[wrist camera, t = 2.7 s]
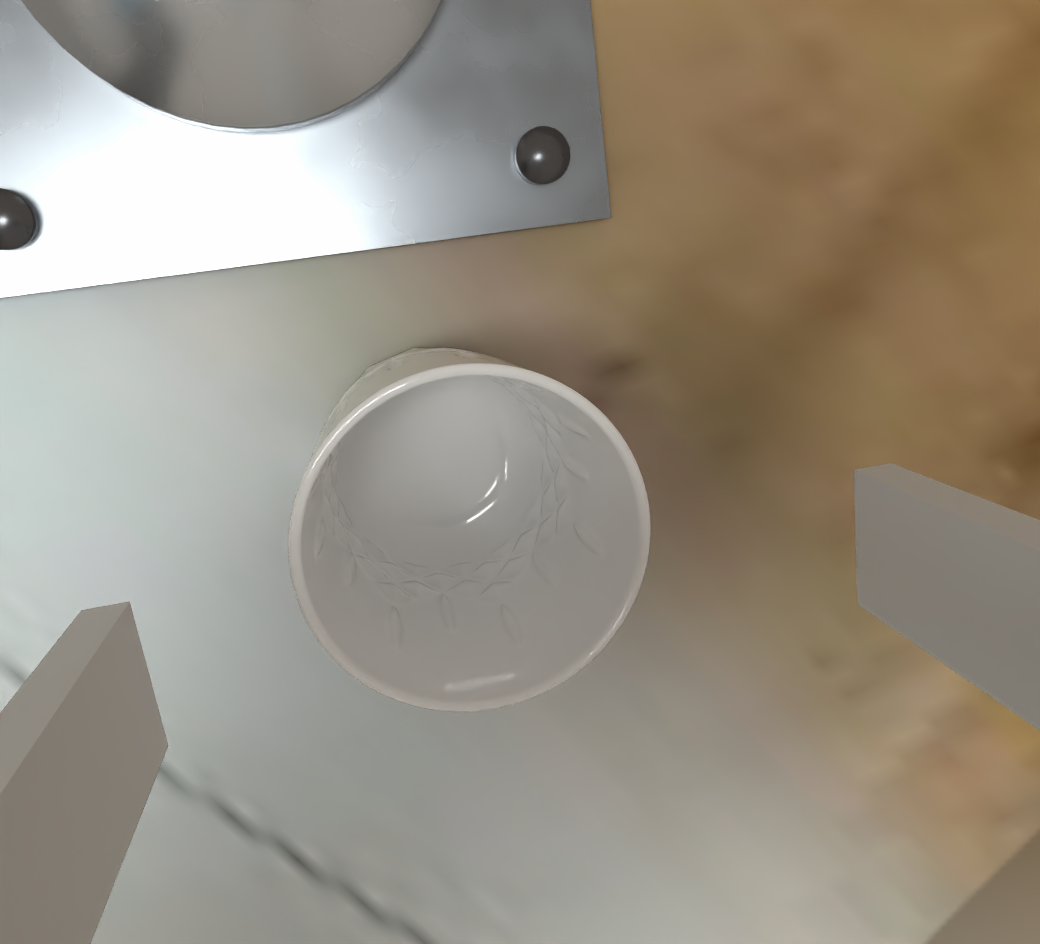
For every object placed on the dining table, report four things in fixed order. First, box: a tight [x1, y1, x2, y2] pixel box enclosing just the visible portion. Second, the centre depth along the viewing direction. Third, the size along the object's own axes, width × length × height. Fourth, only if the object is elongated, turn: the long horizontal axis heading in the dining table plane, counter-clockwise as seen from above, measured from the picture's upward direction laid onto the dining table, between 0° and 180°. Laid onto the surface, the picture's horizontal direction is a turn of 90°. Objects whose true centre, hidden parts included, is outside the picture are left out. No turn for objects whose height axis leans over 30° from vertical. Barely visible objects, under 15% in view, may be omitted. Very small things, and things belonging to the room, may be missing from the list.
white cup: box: [288, 348, 651, 712], centre depth 23 cm, size 8×8×10 cm
